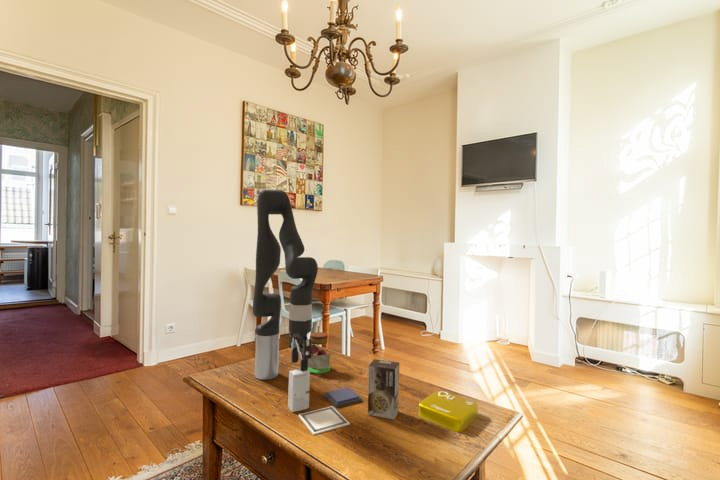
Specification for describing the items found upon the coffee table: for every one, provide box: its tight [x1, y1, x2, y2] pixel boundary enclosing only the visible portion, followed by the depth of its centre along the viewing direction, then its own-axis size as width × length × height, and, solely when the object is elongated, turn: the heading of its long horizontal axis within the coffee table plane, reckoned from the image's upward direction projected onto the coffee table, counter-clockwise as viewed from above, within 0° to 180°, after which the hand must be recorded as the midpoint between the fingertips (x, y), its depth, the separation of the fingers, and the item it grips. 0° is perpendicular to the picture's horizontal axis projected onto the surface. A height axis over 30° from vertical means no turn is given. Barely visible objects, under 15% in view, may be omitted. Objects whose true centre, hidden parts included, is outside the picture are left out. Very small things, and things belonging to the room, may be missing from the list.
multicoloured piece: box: [308, 331, 331, 375], centre depth 147 cm, size 12×13×15 cm
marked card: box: [297, 405, 351, 436], centre depth 106 cm, size 12×12×1 cm
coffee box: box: [367, 358, 400, 420], centre depth 111 cm, size 9×6×16 cm
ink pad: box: [323, 387, 363, 409], centre depth 120 cm, size 10×10×2 cm
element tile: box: [418, 389, 479, 433], centre depth 111 cm, size 15×15×5 cm
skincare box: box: [287, 368, 311, 413], centre depth 113 cm, size 6×4×12 cm
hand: (299, 366), depth 113 cm, fingers open, 8 cm apart
